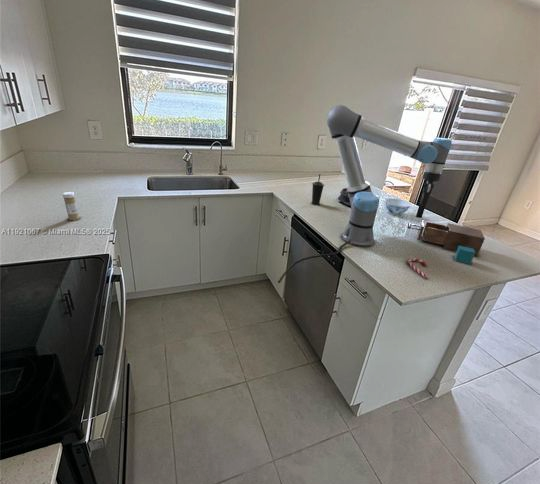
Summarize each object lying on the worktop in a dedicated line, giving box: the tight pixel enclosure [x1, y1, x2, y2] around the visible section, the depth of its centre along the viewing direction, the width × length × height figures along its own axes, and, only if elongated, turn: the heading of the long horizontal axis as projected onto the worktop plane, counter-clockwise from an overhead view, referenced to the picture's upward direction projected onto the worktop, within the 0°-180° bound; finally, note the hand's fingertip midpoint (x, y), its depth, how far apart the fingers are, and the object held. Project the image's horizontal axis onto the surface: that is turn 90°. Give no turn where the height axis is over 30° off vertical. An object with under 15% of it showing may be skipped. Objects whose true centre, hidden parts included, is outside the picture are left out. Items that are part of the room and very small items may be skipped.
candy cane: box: [407, 257, 428, 279], centre depth 123 cm, size 8×1×15 cm
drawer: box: [407, 219, 449, 246], centre depth 150 cm, size 19×10×8 cm, turn 64°
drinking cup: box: [311, 173, 325, 206], centre depth 188 cm, size 8×8×20 cm
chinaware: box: [384, 198, 411, 217], centre depth 184 cm, size 15×15×8 cm
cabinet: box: [442, 222, 486, 257], centre depth 144 cm, size 15×12×10 cm
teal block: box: [454, 246, 475, 265], centre depth 132 cm, size 4×6×6 cm
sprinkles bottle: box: [62, 191, 80, 221], centre depth 141 cm, size 5×5×13 cm
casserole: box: [337, 187, 351, 207], centre depth 198 cm, size 25×19×8 cm
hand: (418, 217), depth 149 cm, fingers closed
